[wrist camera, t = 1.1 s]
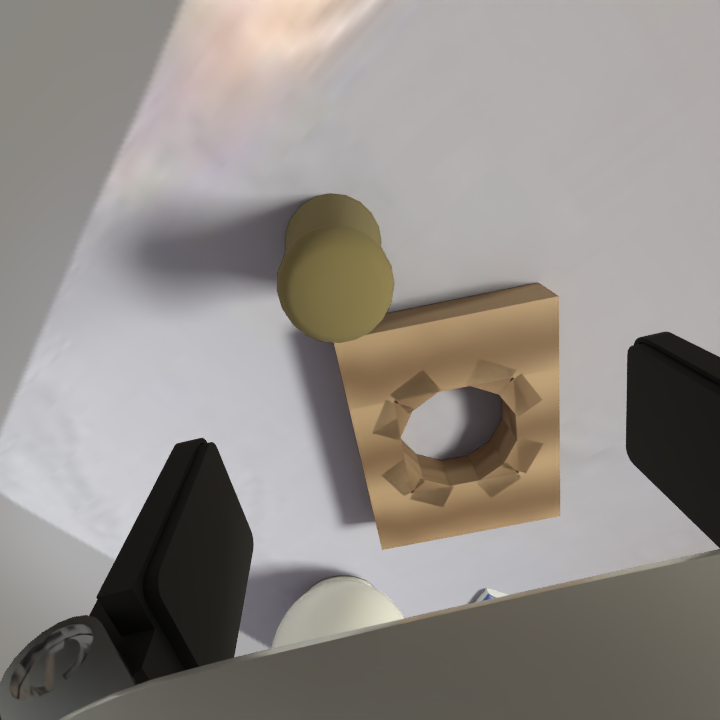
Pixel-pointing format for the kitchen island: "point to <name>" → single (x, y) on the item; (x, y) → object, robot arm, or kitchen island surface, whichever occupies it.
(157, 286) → the kitchen island surface
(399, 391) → the holder board
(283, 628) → the lidded bowl
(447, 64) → the kitchen island surface
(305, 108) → the kitchen island surface
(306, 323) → the cork
